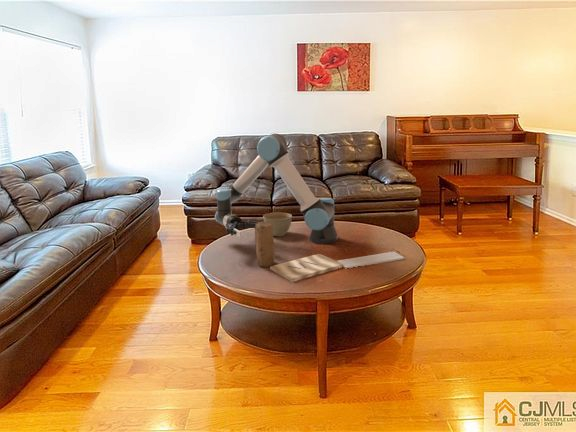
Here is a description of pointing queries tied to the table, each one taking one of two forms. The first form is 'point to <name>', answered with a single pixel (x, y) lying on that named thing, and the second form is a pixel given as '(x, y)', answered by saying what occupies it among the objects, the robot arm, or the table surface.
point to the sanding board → (306, 267)
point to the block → (264, 244)
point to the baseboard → (371, 259)
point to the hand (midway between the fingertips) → (252, 232)
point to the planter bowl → (278, 222)
